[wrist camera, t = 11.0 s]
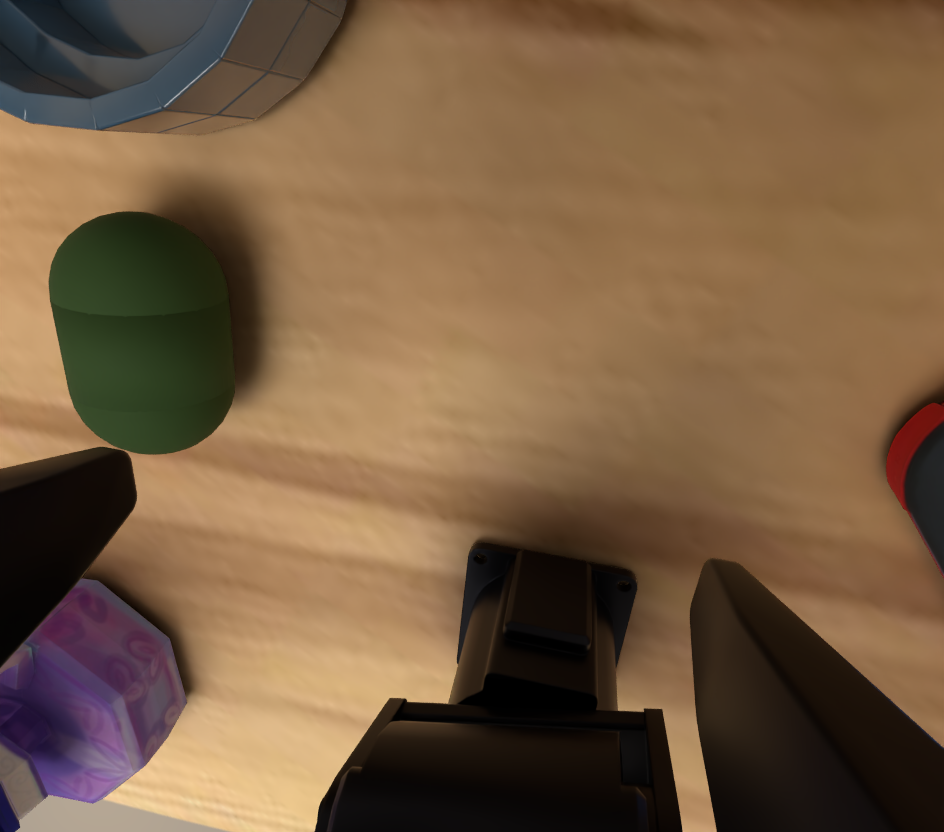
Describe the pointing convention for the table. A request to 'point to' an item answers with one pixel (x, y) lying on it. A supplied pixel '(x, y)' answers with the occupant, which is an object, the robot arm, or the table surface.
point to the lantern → (83, 702)
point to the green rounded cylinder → (143, 331)
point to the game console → (921, 475)
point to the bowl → (157, 60)
